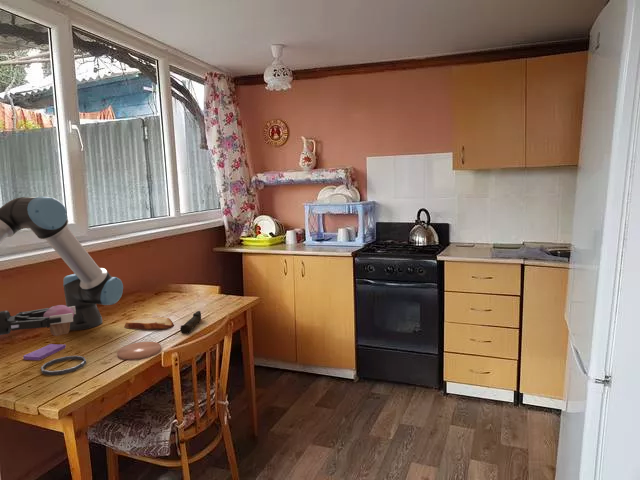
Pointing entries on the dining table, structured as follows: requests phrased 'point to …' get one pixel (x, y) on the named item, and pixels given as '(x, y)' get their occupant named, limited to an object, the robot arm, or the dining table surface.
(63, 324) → the cupcake
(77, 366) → the dark grey ring
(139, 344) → the plate
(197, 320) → the hand tool
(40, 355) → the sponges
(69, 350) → the dining table surface
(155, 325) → the slice of bread
